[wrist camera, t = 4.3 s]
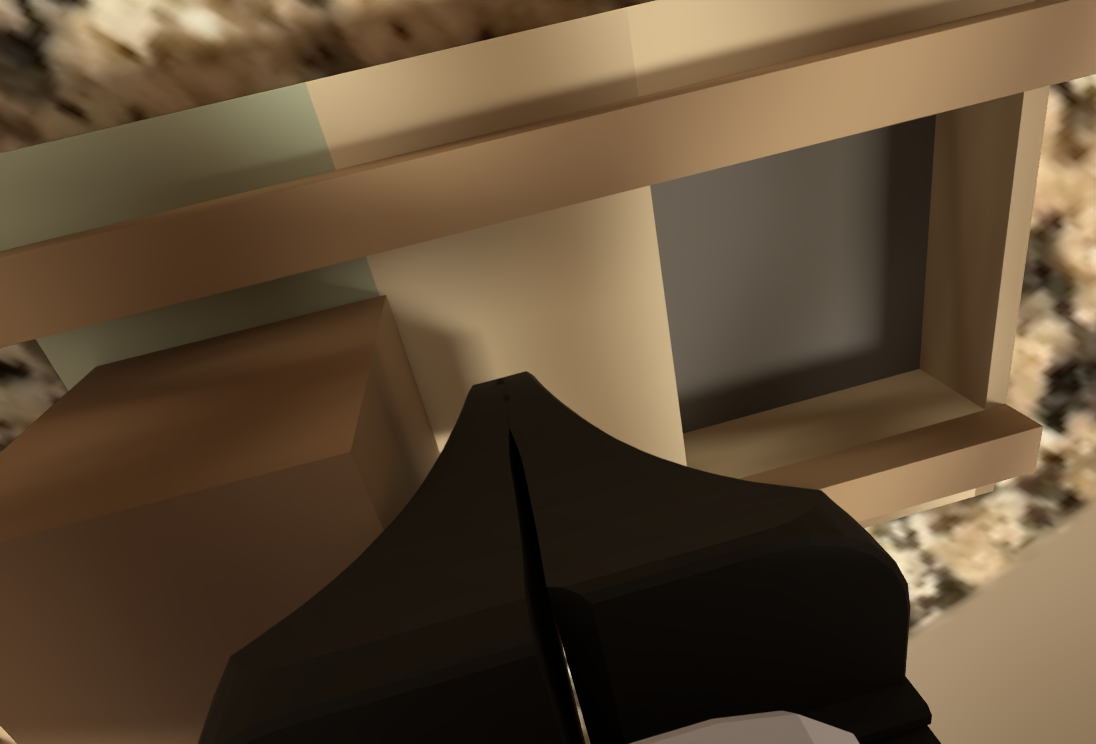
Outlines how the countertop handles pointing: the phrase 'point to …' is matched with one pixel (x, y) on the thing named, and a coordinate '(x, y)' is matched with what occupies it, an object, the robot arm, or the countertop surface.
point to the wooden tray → (611, 229)
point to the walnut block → (194, 516)
